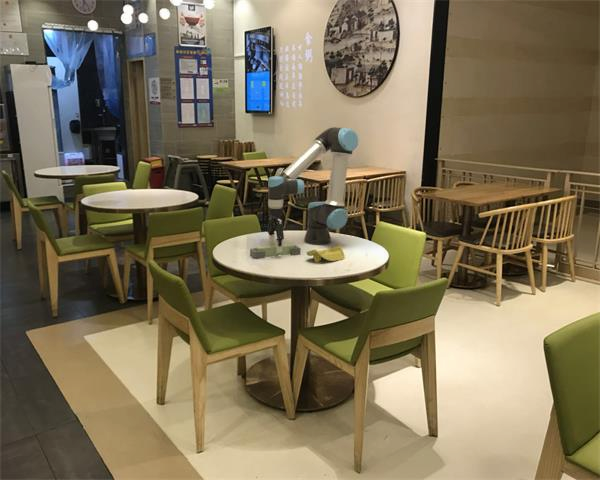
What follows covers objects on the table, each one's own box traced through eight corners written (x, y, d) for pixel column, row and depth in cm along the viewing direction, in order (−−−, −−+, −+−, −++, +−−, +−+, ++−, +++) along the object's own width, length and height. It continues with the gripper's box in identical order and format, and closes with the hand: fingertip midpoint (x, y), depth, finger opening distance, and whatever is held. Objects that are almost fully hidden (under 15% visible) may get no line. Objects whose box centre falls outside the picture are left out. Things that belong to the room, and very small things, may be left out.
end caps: (294, 251, 275) (295, 244, 274) (300, 254, 269) (300, 248, 268) (250, 255, 265) (250, 248, 265) (254, 258, 259) (254, 252, 258)
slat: (257, 258, 262) (257, 248, 261) (255, 256, 265) (255, 246, 264) (294, 254, 269) (294, 245, 268) (292, 253, 272) (292, 243, 271)
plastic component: (327, 249, 270) (341, 244, 264) (331, 263, 269) (345, 258, 263) (302, 253, 256) (316, 248, 249) (306, 268, 255) (320, 263, 248)
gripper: (291, 210, 252) (290, 254, 258) (274, 203, 273) (274, 244, 278) (276, 211, 250) (276, 255, 255) (261, 204, 270) (261, 245, 275)
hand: (275, 249), depth 266 cm, fingers open, 10 cm apart
